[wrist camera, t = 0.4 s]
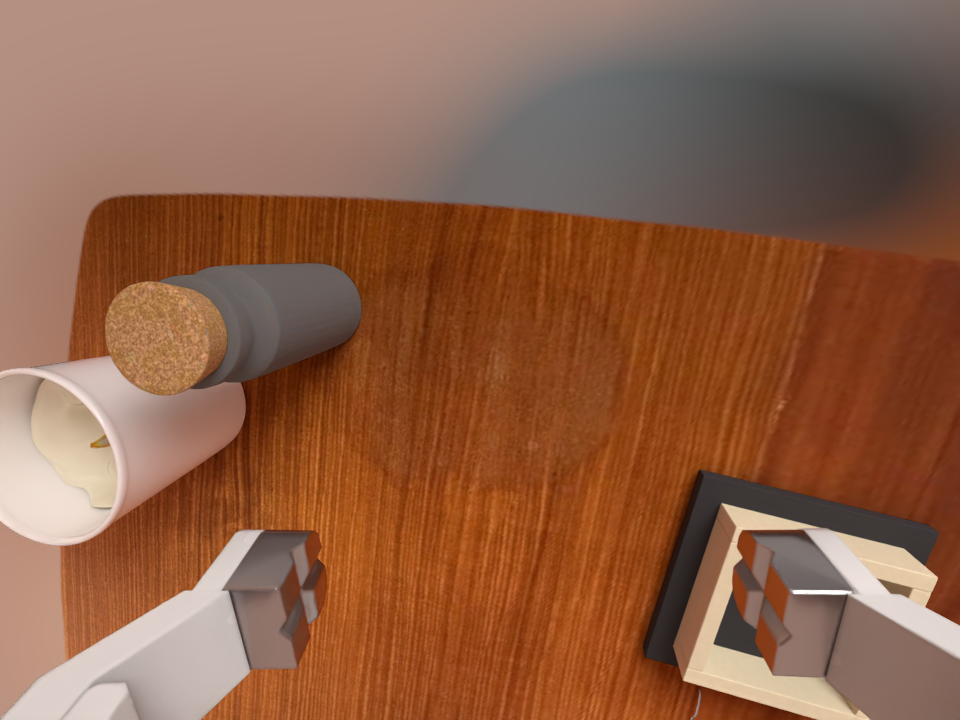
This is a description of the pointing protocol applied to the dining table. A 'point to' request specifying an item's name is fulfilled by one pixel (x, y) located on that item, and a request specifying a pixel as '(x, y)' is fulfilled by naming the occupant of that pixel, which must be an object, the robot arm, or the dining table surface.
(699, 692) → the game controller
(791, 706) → the beige square frame
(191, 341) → the bottle
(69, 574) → the dining table surface
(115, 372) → the candle holder
